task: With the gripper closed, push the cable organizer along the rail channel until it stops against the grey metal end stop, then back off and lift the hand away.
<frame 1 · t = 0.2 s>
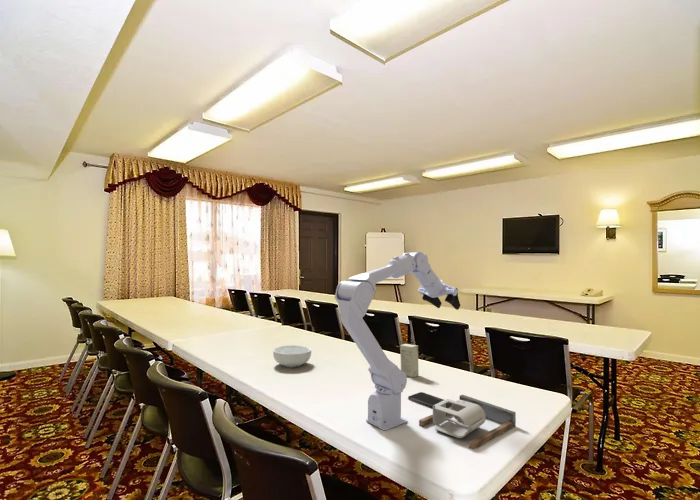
hand: (448, 306, 124), 31 cm above the table, tool tilted 50°, fingers open, 7 cm apart
cable organizer: (459, 430, 101), on the table
cereal bowl: (292, 365, 163), on the table
skincare box: (409, 375, 150), on the table
rail channel: (459, 429, 101), on the table
phone: (432, 404, 120), on the table
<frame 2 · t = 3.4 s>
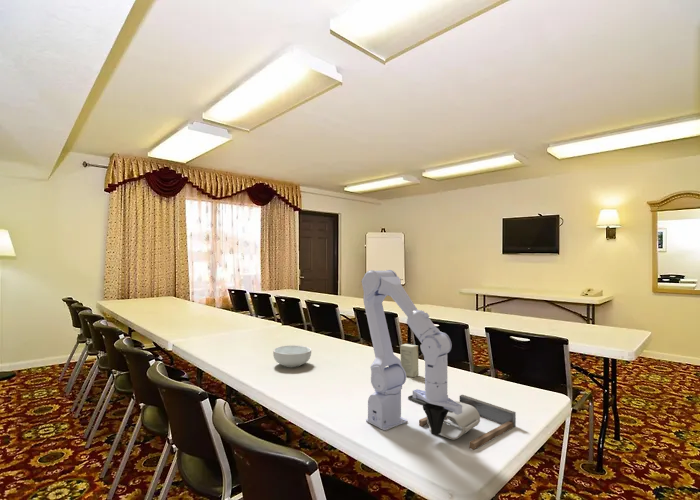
hand: (436, 433, 95), 2 cm above the table, tool pointing down, fingers closed
cable organizer: (453, 432, 100), on the table, touching gripper
everything else where it was.
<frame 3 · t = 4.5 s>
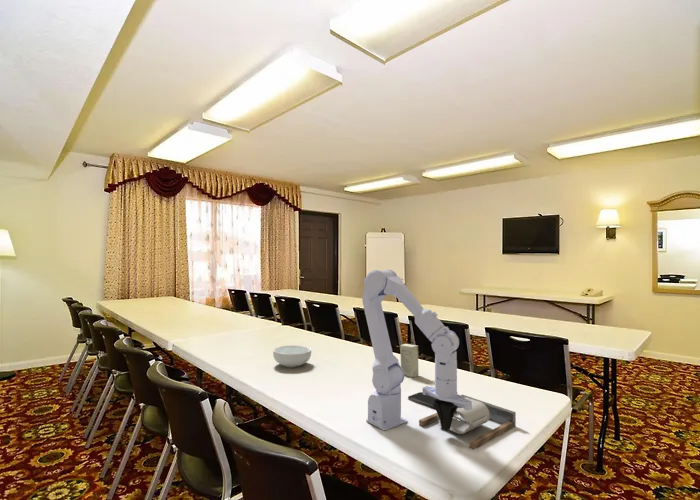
hand: (445, 428, 97), 2 cm above the table, tool pointing down, fingers closed, pressing on cable organizer
cable organizer: (462, 427, 103), on the table, touching gripper
everything else where it was.
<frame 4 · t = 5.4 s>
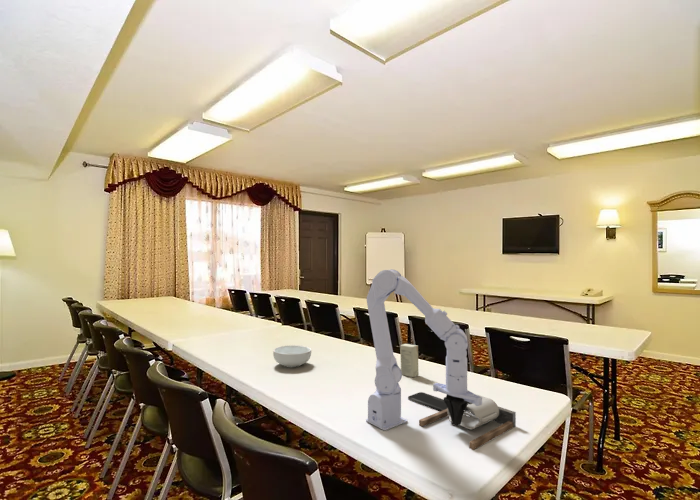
hand: (456, 424, 100), 2 cm above the table, tool pointing down, fingers closed, pressing on cable organizer
cable organizer: (472, 423, 105), on the table, touching gripper, rail channel
everything else where it was.
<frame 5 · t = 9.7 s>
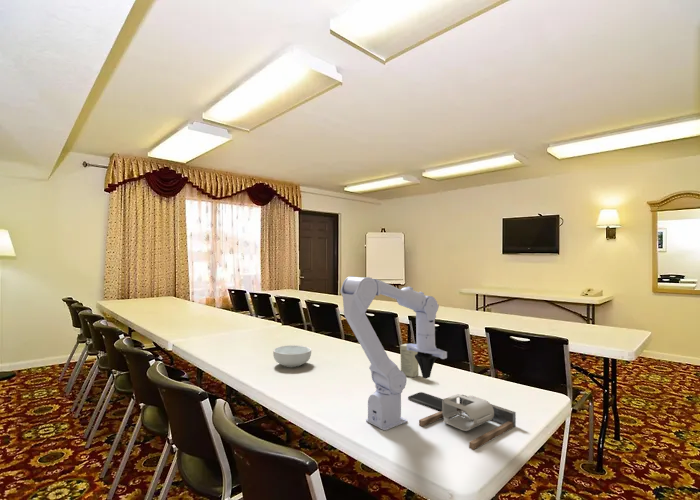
hand: (426, 377, 114), 10 cm above the table, tool pointing down, fingers closed
cable organizer: (467, 424, 105), on the table
everything else where it was.
at the end: cable organizer 1.7 cm from the target spot, on the table; cable organizer tilted 0° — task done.
